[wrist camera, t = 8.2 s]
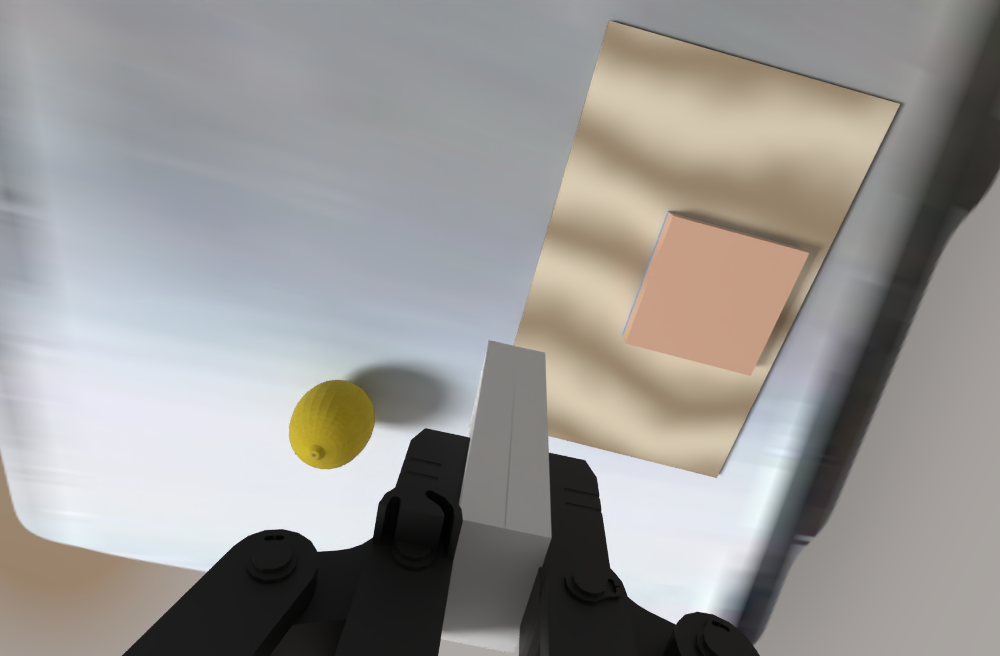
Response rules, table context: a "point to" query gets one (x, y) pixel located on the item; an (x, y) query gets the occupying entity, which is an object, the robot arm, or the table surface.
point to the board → (691, 192)
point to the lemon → (331, 424)
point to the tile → (712, 293)
